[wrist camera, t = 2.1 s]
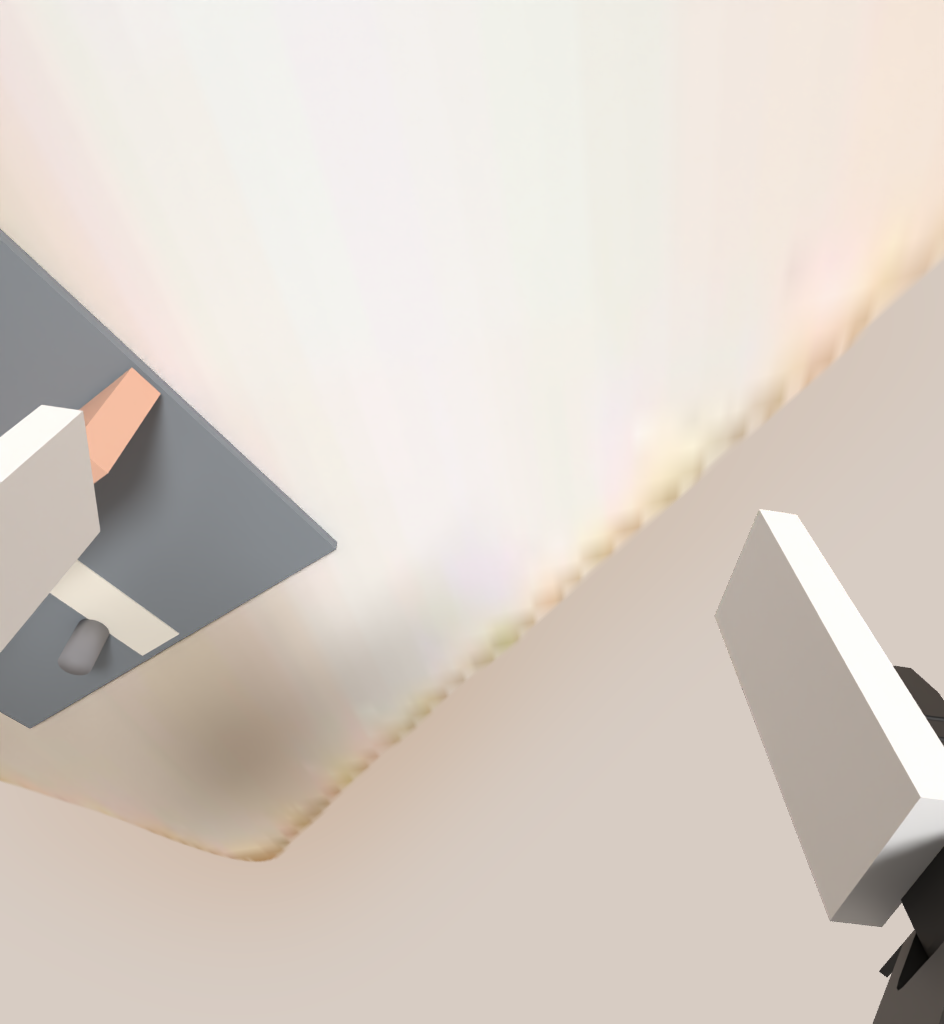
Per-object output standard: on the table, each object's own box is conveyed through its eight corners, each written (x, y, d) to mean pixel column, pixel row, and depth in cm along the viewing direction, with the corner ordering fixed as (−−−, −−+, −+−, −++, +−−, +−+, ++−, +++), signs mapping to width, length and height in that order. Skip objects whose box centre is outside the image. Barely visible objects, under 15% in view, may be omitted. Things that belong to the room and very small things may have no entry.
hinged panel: (-23, 491, 41) (-99, 577, 36) (131, 367, 37) (72, 444, 31) (6, 512, 42) (-63, 599, 36) (160, 393, 37) (107, 473, 32)
